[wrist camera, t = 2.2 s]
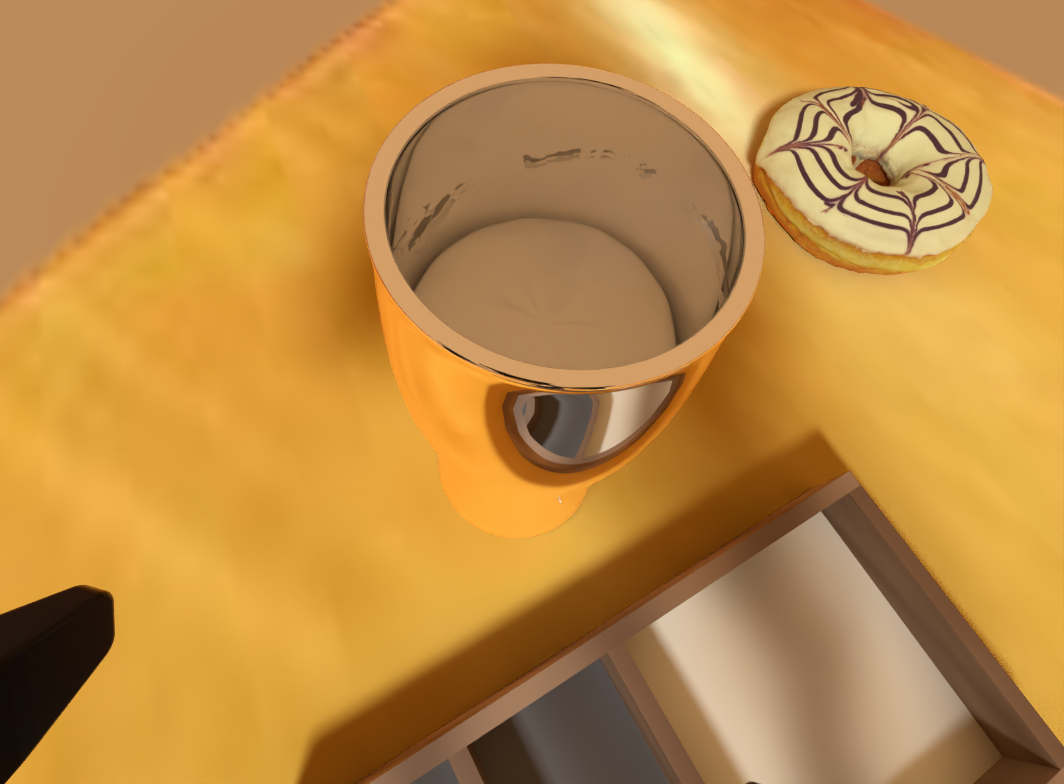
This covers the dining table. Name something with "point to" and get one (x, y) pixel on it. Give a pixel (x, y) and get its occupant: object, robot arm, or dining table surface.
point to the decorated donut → (871, 180)
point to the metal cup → (553, 278)
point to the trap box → (762, 677)
